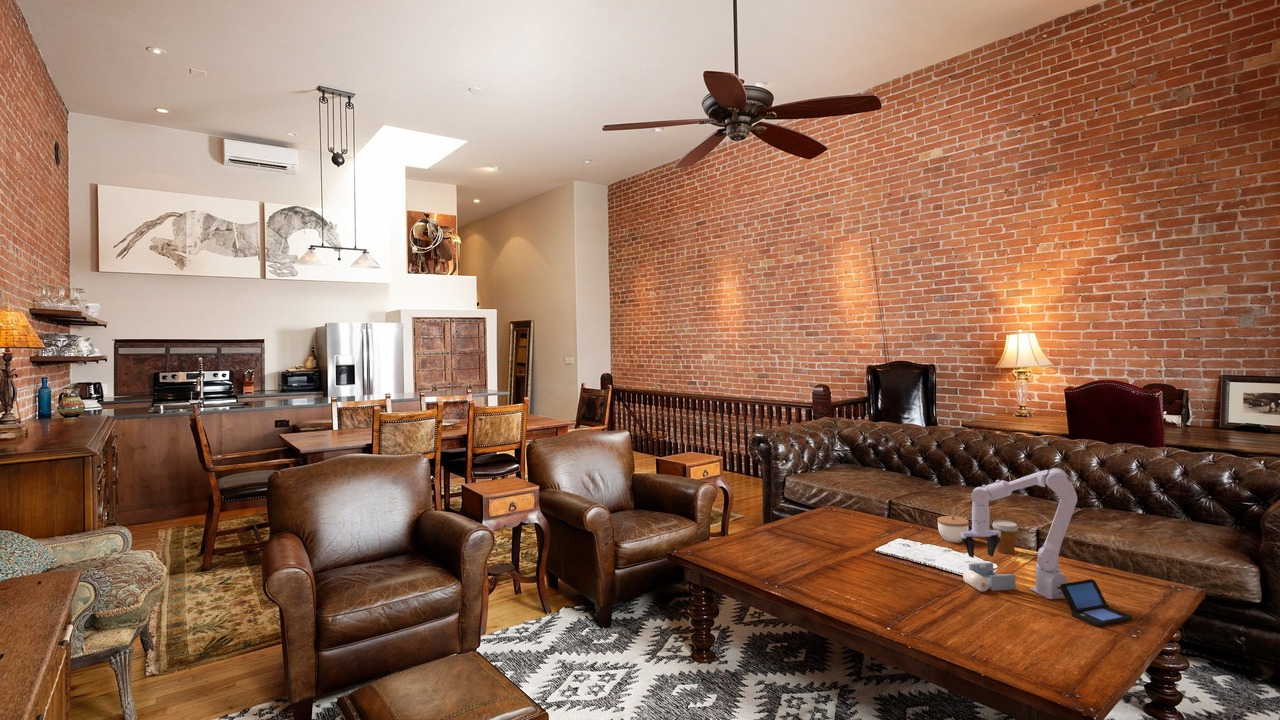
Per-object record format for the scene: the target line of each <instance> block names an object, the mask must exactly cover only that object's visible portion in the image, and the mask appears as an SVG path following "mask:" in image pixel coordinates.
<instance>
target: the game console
mask: <svg viewBox="0 0 1280 720" xmlns="http://www.w3.org/2000/svg"><path fill="white" fill-rule="evenodd" d="M1060 589H1061V591H1062V593H1063V595H1064V597H1065V598H1064V599H1065V601H1066V603H1067V605H1068V607H1069V609H1070V611H1071V612H1070V615H1071V617H1074V618H1076V619H1079V620H1080V621H1083V622H1086V623H1087V624H1090V625H1093V626H1095V627H1105V626H1109V625H1115V624H1121V623H1124V622H1130V620H1131V621H1132V620H1133V616H1132V615H1130V614H1127V613H1125V612H1123V611H1120V610H1118V609H1116V608H1112V607H1110V605H1109V604H1108V603H1107V601H1106V598H1105V597H1104V596H1103V594H1102V591H1101V590H1100V587H1099V585H1098V584H1097V582H1096V580H1095V579H1084V580H1078V581H1071V582H1067V583H1065V584H1061V585H1060Z"/></svg>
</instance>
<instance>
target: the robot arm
mask: <svg viewBox="0 0 1280 720" xmlns="http://www.w3.org/2000/svg"><path fill="white" fill-rule="evenodd" d="M1033 486H1039V487H1042V488H1046V486H1047V487H1048V488H1049V489H1050V490H1052V491H1053V492H1054V493H1055V494H1056V495H1057V497H1058V498H1059V499H1060V501H1059V502H1058V505H1057V509H1056V511H1055V514H1054V516H1053V520H1052V523H1051V524H1050V525H1051V526H1050V527H1049V531H1048V533H1047V537H1046V539H1045V540H1044V543H1043V545H1042V546H1041V547H1040V548H1038V551H1037V558H1036V564H1035V587H1030V588H1029V589H1030V591H1033V592H1035V593H1036V594H1038V595H1040V596H1042V597H1043V598H1046V599H1047V600H1059V599H1065V597H1064V595H1063V593H1062V591H1061V589H1060V585H1061V584H1065V583H1068V578H1067V577H1066V575H1064V574H1063V573H1062V572H1061V567H1060V566H1059V554H1060V550H1061V546H1062V545H1063V542H1064V541H1063V540H1064V539H1065V536H1066V532H1067V530H1068V527H1069V525H1070V522H1071V519H1072V516H1073V514H1074V511H1075V508H1076V506H1077V505H1076V504H1077V502H1078V496H1077V491H1076V490H1075V487H1074V485H1073V482H1072V479H1071V477H1070V476H1069V475H1068V474H1067V473H1066V471H1065V470H1064V469H1062V468H1060V467H1053V468H1052V467H1051V468H1050V469H1044V470H1039V471H1037V472H1035V473H1031V474H1029V475H1028V474H1027V475H1025V476H1022V477H1020V478H1018V479H1013V480H1011V481H1006V480H1005V479H1002V480H1000V479H996V480H995V482H991V483H990V484H987V485H986V484H982V485H981V486H977V487H975V488H974V489H973V490H972V492H971V494H970V495H971V496H970V499H971V501H972V503H971V505H972V507H971V529H970V530H968V531H965V532H961V537H962V542H963V543H964V546H965V547H966V550H967V554H968V557H970V558H973V559H974V558H975V557H974V556H975V547H976V546H975V545H976V543H977V542H976V540H974V538H985V539H986V543H987V545H986V546H987V555H988V556H990V557H994V554H995V551H996V550H997V549H996V546H997V545H998V543H999V542H1000V538H998V537H1001V531H998V530H994V529H990V506H989V504H990V501H991V502H992V501H993V502H994V501H996V500H999V499H1002V498H1006V497H1009V496H1011V495H1012V493H1013V491H1016V490H1020V489H1025V488H1029V487H1033Z"/></svg>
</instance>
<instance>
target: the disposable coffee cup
mask: <svg viewBox="0 0 1280 720" xmlns="http://www.w3.org/2000/svg"><path fill="white" fill-rule="evenodd" d="M991 525H992V528H993V530H998V531H1001V537H998V538H1000V542H999V543H998V545H997V546H996V549H995V550H996V552H997V553H1000V554H1004V555H1007V554H1008V555H1011V554H1014V553H1015V547H1016V539H1017V532H1018V529H1019V527H1018V524H1017V523H1015V522H1014V521H1013V522H1012V521H1009V520H994V521H993V522H992V524H991Z"/></svg>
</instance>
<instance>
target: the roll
mask: <svg viewBox="0 0 1280 720" xmlns="http://www.w3.org/2000/svg"><path fill="white" fill-rule="evenodd" d="M962 579H963V581H964V582H965V583H966V584H968V585H969V586H971V587H973V588H974V589H976V590H977V591H979V592H987V591H988V590H990V589H989V586H990V583H989V581H988V579H986V578H984V577H983V576H981V575H979V574H978V573H976V572H974V571H972V570H969V569H967V570H966V571H965V572H964V573H963V575H962Z"/></svg>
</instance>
